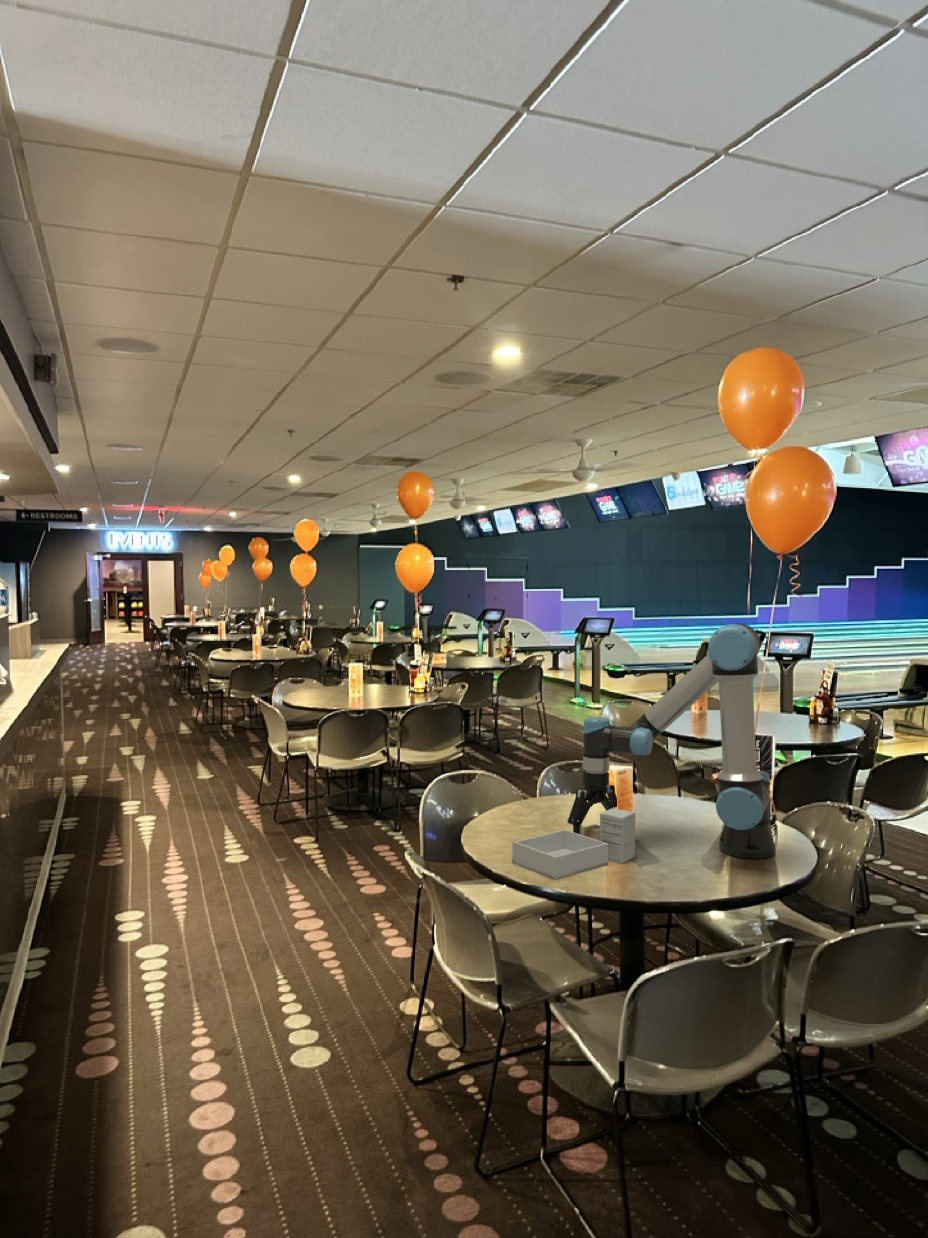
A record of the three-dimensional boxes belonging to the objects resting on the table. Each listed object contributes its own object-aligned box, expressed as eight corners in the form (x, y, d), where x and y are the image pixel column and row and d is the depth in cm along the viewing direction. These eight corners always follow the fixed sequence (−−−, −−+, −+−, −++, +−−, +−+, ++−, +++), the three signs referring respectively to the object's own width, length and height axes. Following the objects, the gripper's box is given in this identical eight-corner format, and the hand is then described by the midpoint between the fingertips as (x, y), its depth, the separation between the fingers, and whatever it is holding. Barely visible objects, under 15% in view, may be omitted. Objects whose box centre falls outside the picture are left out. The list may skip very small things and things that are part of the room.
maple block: (607, 845, 240) (607, 828, 239) (595, 848, 237) (595, 831, 236) (595, 841, 244) (595, 824, 243) (583, 844, 241) (583, 827, 240)
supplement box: (612, 852, 233) (612, 807, 233) (635, 857, 229) (636, 812, 228) (598, 858, 228) (599, 812, 227) (622, 864, 223) (623, 817, 223)
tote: (608, 864, 223) (608, 843, 222) (555, 879, 211) (555, 857, 210) (564, 849, 236) (564, 829, 236) (512, 862, 224) (512, 842, 224)
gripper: (615, 763, 250) (614, 833, 251) (555, 774, 235) (554, 848, 236) (634, 767, 244) (633, 839, 245) (574, 779, 229) (573, 855, 230)
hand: (594, 843), depth 240 cm, fingers open, 13 cm apart
